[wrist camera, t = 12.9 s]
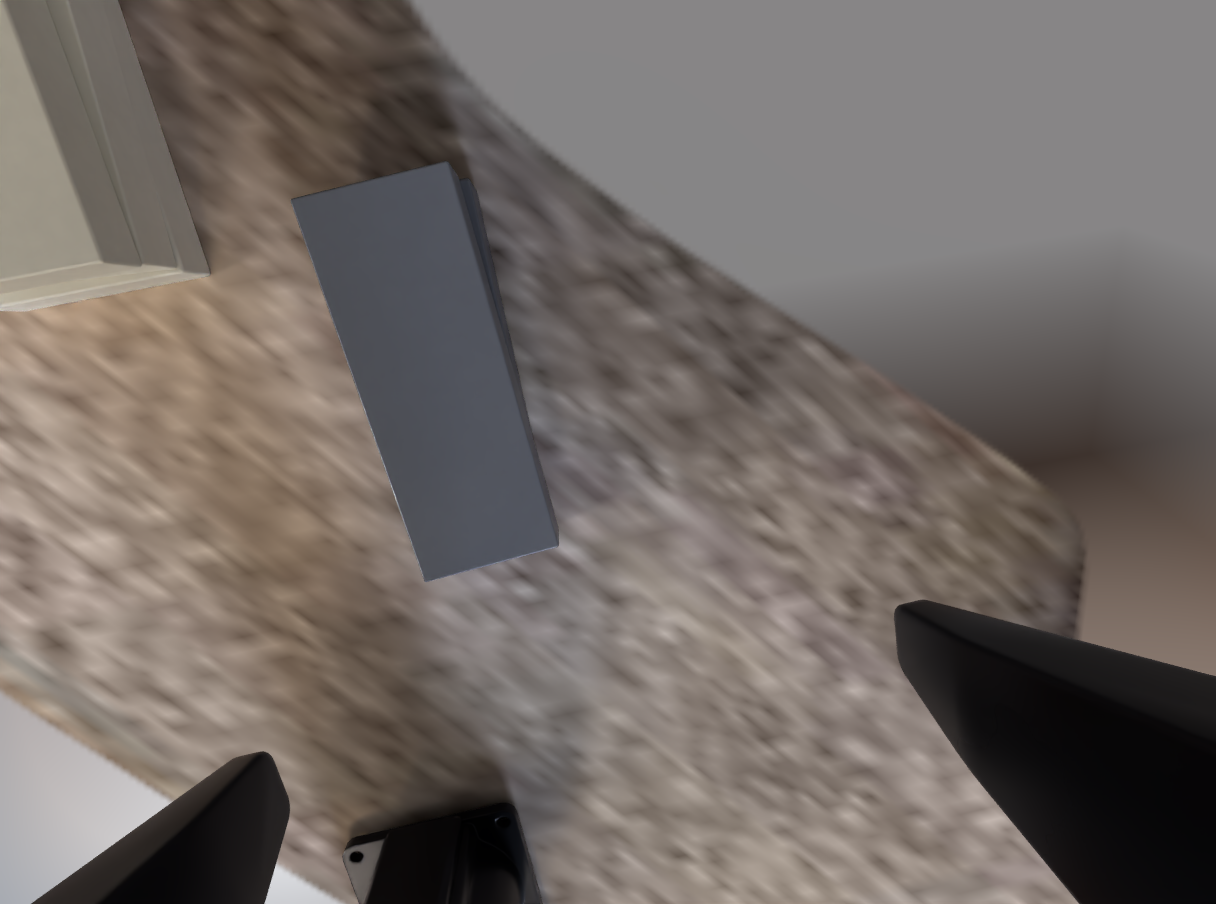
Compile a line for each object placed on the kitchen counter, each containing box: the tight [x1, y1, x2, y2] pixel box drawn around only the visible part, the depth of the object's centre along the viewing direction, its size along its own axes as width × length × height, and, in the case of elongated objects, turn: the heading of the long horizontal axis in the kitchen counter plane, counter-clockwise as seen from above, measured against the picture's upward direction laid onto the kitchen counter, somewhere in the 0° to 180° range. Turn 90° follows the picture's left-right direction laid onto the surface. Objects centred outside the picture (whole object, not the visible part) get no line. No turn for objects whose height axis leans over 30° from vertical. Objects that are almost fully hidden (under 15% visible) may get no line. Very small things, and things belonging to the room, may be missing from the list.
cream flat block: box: [0, 0, 210, 311], centre depth 15 cm, size 10×6×3 cm, turn 11°
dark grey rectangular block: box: [291, 161, 559, 582], centre depth 17 cm, size 11×5×3 cm, turn 11°
